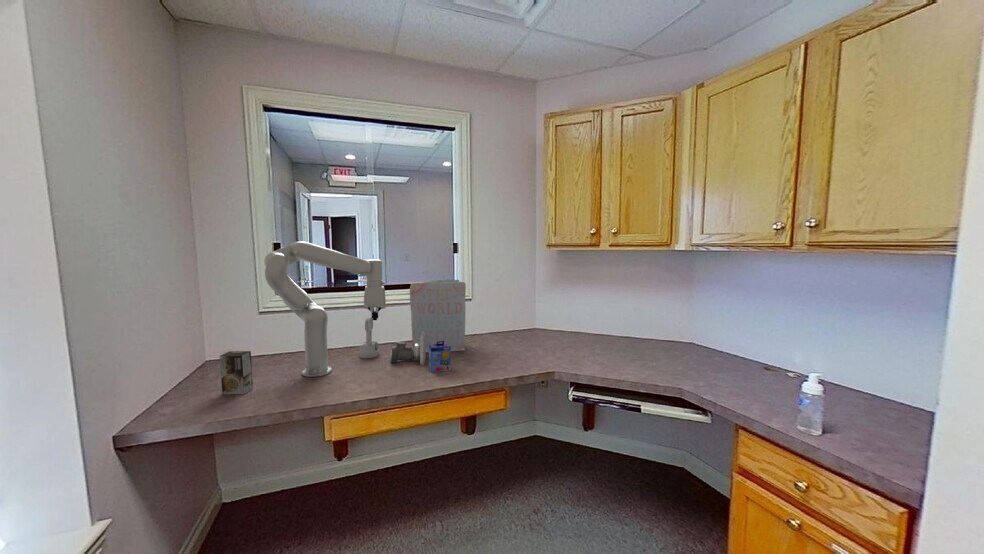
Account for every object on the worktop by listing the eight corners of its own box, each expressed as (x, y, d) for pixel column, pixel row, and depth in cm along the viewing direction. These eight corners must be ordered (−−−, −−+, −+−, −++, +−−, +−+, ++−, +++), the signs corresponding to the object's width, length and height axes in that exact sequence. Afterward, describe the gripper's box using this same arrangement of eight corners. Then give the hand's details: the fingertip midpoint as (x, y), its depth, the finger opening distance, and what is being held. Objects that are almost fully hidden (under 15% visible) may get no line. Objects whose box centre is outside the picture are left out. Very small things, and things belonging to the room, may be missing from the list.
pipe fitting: (389, 363, 193) (391, 343, 193) (389, 360, 201) (391, 340, 201) (413, 364, 196) (415, 344, 196) (413, 361, 204) (415, 342, 204)
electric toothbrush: (356, 357, 204) (375, 358, 204) (355, 319, 202) (374, 319, 202) (363, 351, 215) (381, 352, 214) (362, 315, 213) (380, 315, 212)
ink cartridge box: (430, 372, 182) (430, 342, 180) (428, 369, 187) (428, 339, 185) (451, 370, 185) (451, 340, 184) (448, 367, 190) (448, 338, 189)
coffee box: (253, 388, 161) (251, 350, 159) (244, 394, 155) (242, 355, 153) (231, 388, 161) (229, 350, 159) (221, 394, 154) (218, 355, 153)
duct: (423, 364, 193) (423, 337, 192) (413, 365, 193) (412, 337, 191) (425, 356, 207) (425, 330, 206) (416, 356, 206) (415, 331, 205)
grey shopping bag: (410, 347, 229) (409, 279, 226) (463, 344, 235) (462, 278, 233) (410, 354, 212) (408, 281, 210) (466, 350, 218) (465, 280, 216)
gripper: (390, 283, 198) (391, 318, 200) (361, 283, 197) (361, 318, 199) (388, 284, 191) (388, 321, 193) (357, 284, 190) (357, 321, 191)
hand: (374, 319), depth 196 cm, fingers closed
